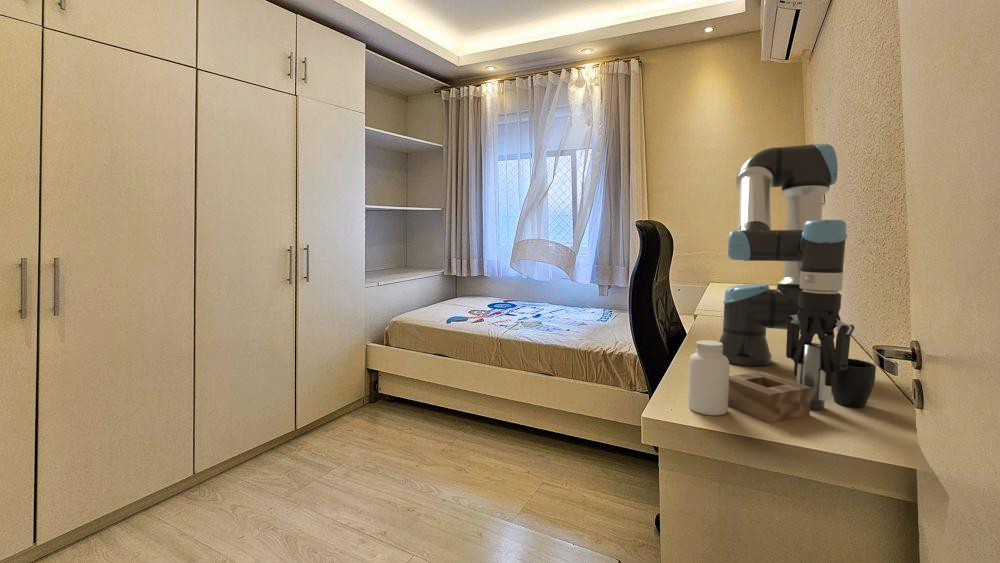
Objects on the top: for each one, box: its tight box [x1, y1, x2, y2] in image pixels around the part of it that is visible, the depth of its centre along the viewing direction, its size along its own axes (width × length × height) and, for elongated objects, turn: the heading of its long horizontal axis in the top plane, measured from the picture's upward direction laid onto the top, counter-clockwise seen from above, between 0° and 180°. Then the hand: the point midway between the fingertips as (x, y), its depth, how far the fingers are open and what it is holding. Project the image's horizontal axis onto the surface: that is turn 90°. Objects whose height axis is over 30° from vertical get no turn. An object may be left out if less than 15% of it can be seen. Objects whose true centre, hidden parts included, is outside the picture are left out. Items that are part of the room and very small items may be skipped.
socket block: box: [728, 371, 811, 424], centre depth 97 cm, size 12×12×6 cm
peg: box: [802, 342, 826, 412], centre depth 98 cm, size 4×4×14 cm
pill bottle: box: [687, 339, 730, 416], centre depth 97 cm, size 8×8×15 cm
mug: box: [831, 358, 877, 409], centre depth 101 cm, size 8×12×10 cm
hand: (812, 395), depth 98 cm, fingers closed on peg, 4 cm apart
